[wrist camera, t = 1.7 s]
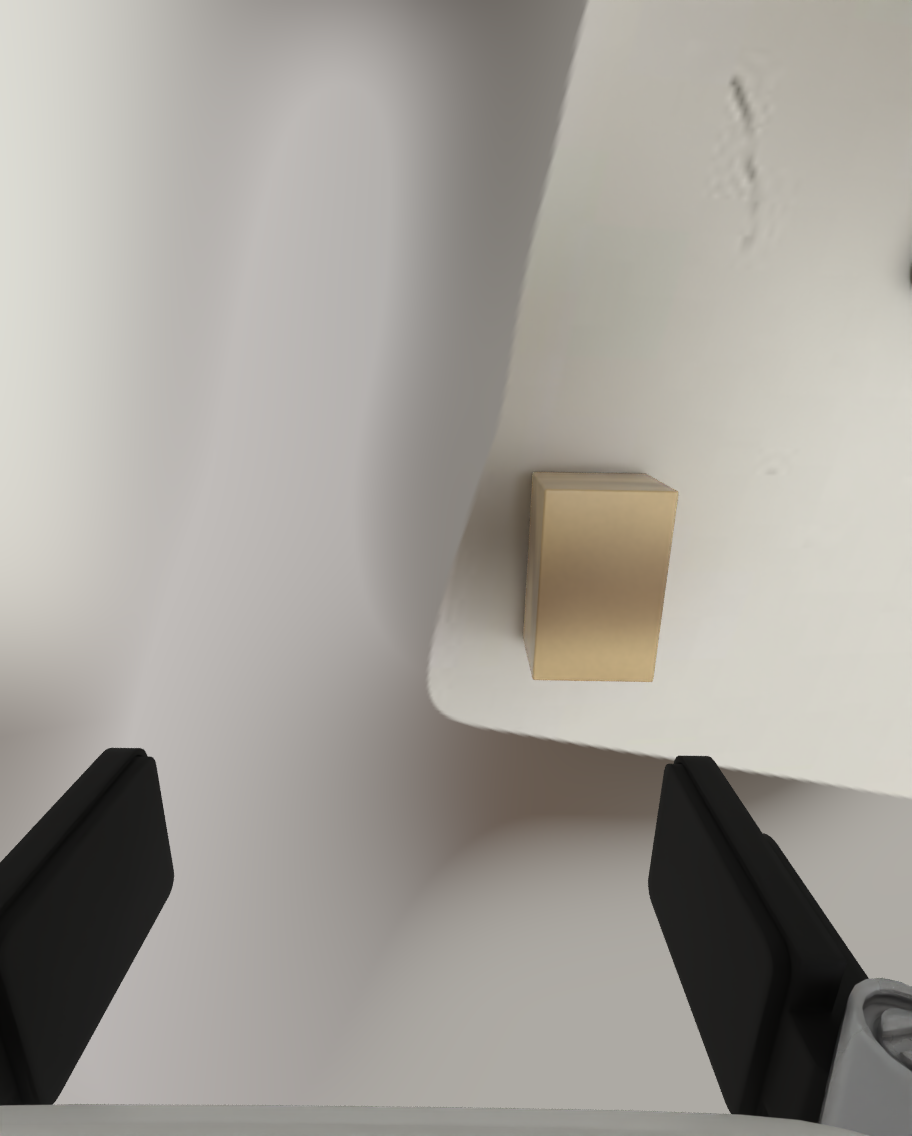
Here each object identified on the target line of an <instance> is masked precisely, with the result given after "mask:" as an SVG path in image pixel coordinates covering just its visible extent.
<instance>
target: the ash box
mask: <svg viewBox="0 0 912 1136" xmlns="http://www.w3.org/2000/svg"><path fill="white" fill-rule="evenodd" d="M677 500H678V491H676V490H674V489H672V488H671V487H669V486H667V485H665V484H664V483H662V482H660V481H658V480H656V479H655V478H653V477H651V476H649V475H648V474H633V473H574V472H533V474H532V489H531V507H530V525H529V542H528V560H527V578H526V595H525V613H524V631H523V640H524V644H525V648H526V653H527V657H528V661H529V665H530V670H531V674H532V678H533V679H534V680H570V681H630V682H652V681H653V677H654V669H655V662H656V654H657V647H658V640H659V632H660V625H661V618H662V610H663V603H664V596H665V588H666V581H667V574H668V566H669V559H670V551H671V544H672V537H673V529H674V522H675V515H676V507H677Z"/></svg>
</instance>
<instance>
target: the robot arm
mask: <svg viewBox="0 0 912 1136" xmlns="http://www.w3.org/2000/svg"><path fill="white" fill-rule="evenodd" d="M657 817H658V818H657V823H656V830H655V837H654V843H653V850H652V857H651V864H650V871H649V878H648V887H649V895H650V899H651V902H652V905H653V908H654V910H655V913H656V916H657V918H658V921H659V924H660V927H661V929H662V932H663V935H664V938H665V940H666V943H667V946H668V948H669V951H670V954H671V956H672V959H673V962H674V965H675V967H676V970H677V973H678V975H679V978H680V981H681V984H682V986H683V989H684V992H685V994H686V997H687V1000H688V1002H689V1005H690V1008H691V1011H692V1013H693V1016H694V1018H695V1022H696V1024H697V1027H698V1029H699V1032H700V1035H701V1038H702V1040H703V1043H704V1046H705V1048H706V1051H707V1054H708V1057H709V1059H710V1062H711V1065H712V1068H713V1070H714V1073H715V1076H716V1078H717V1081H718V1084H719V1087H720V1089H721V1092H722V1095H723V1097H724V1100H725V1103H726V1105H727V1107H728V1109H729V1111H730V1113H731V1114H711V1113H710V1114H709V1113H684V1112H658V1111H657V1112H656V1111H630V1110H628V1111H627V1110H573V1109H518V1108H517V1109H516V1108H462V1107H460V1108H459V1107H455V1108H454V1107H377V1106H375V1107H373V1106H283V1105H280V1106H279V1105H105V1104H104V1105H103V1104H102V1105H101V1104H100V1105H99V1104H96V1105H95V1104H90V1105H89V1104H74V1105H73V1104H69V1105H53V1103H54V1102H55V1101H56V1099H57V1098H58V1096H59V1095H60V1093H61V1091H62V1090H63V1088H64V1086H65V1084H66V1082H67V1080H68V1079H69V1077H70V1075H71V1073H72V1071H73V1069H74V1068H75V1065H76V1064H77V1062H78V1060H79V1058H80V1057H81V1055H82V1053H83V1051H84V1049H85V1048H86V1046H87V1044H88V1042H89V1040H90V1039H91V1037H92V1035H93V1033H94V1031H95V1030H96V1028H97V1026H98V1024H99V1022H100V1020H101V1018H102V1017H103V1015H104V1013H105V1011H106V1009H107V1007H108V1006H109V1004H110V1002H111V1000H112V998H113V997H114V995H115V993H116V991H117V989H118V988H119V986H120V984H121V982H122V980H123V979H124V977H125V975H126V973H127V971H128V969H129V968H130V966H131V964H132V962H133V960H134V958H135V957H136V955H137V953H138V951H139V949H140V948H141V946H142V944H143V942H144V940H145V938H146V937H147V935H148V933H149V931H150V929H151V928H152V926H153V924H154V922H155V920H156V919H157V917H158V915H159V913H160V911H161V909H162V908H163V905H164V904H165V902H166V900H167V898H168V897H169V894H170V892H171V889H172V886H173V881H174V870H173V863H172V858H171V851H170V846H169V839H168V833H167V827H166V822H165V815H164V809H163V803H162V798H161V791H160V785H159V779H158V773H157V767H156V762H155V760H154V759H153V758H152V757H147V754H146V752H145V751H144V750H143V749H141V748H109V749H107V750H105V751H104V752H103V753H102V754H101V755H100V756H99V757H98V758H97V759H96V760H95V761H94V762H93V764H92V765H91V766H90V767H89V768H88V769H87V770H86V771H85V772H84V773H83V774H82V775H81V777H79V779H78V780H77V781H76V782H75V783H74V784H73V785H72V786H71V787H70V788H69V789H68V790H67V791H66V793H65V794H64V795H63V796H62V797H61V798H60V799H59V800H58V801H57V802H56V803H55V804H54V805H53V807H52V808H51V809H50V810H49V811H48V812H47V813H46V814H45V815H44V816H43V817H42V818H41V819H40V820H39V822H38V823H37V824H36V825H35V826H34V827H33V828H32V829H31V830H30V831H29V832H28V834H26V835H25V837H24V838H23V839H22V840H21V841H20V842H19V843H18V844H17V845H16V846H15V847H14V849H13V850H11V852H10V853H9V854H8V855H7V856H6V857H5V858H4V859H3V860H2V861H1V862H0V1136H912V986H909V985H906V984H904V983H902V982H899V981H894V980H889V979H883V978H875V979H869V978H868V977H867V975H866V974H865V972H864V971H863V969H862V968H861V967H860V965H859V964H858V962H857V961H856V959H855V958H854V956H853V955H852V953H851V952H850V951H849V949H848V948H847V946H846V944H845V943H844V941H843V940H842V939H841V937H840V936H839V934H838V933H837V931H836V930H835V928H834V927H833V926H832V924H831V922H830V921H829V919H828V918H827V917H826V915H825V914H824V912H823V911H822V909H821V908H820V906H819V905H818V903H817V902H816V900H815V899H814V898H813V896H812V895H811V893H810V892H809V890H808V889H807V887H806V886H805V884H804V883H803V881H802V880H801V878H800V877H799V876H798V874H797V873H796V872H795V870H794V868H793V867H792V865H791V864H790V862H789V861H788V859H787V858H786V856H785V855H784V854H783V852H782V851H781V849H780V848H779V846H778V845H777V843H776V842H775V841H774V840H773V839H772V838H771V837H770V836H768V835H767V834H762V832H761V831H760V829H759V828H758V826H757V825H756V823H755V822H754V820H753V819H752V817H751V815H750V814H749V812H748V811H747V809H746V808H745V806H744V805H743V803H742V802H741V801H740V799H739V797H738V796H737V795H736V793H735V791H734V790H733V788H732V787H731V785H730V784H729V782H728V781H727V779H726V778H725V776H724V775H723V773H722V772H721V770H720V769H719V767H718V766H717V764H716V763H715V761H714V760H713V759H712V758H711V757H709V756H678V757H676V759H675V761H674V764H667V765H666V767H665V770H664V776H663V783H662V789H661V796H660V803H659V810H658V816H657Z"/></svg>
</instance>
